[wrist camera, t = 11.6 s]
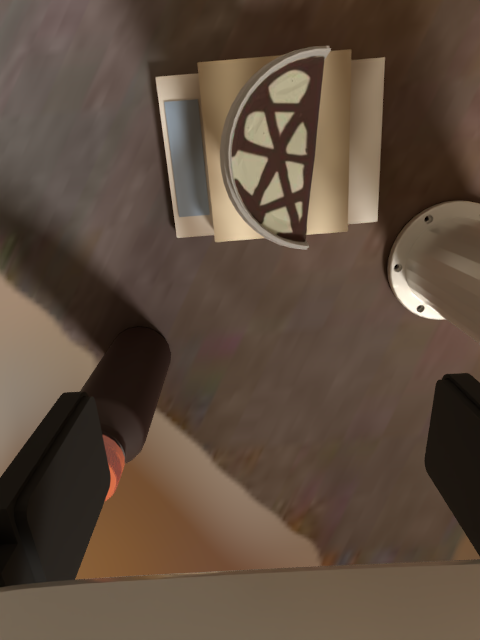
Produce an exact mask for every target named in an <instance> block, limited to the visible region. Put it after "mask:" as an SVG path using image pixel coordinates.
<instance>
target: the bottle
mask: <svg viewBox="0 0 480 640" xmlns="http://www.w3.org/2000/svg"><path fill="white" fill-rule="evenodd" d="M170 359H171V352H170V349H169V345H168V343H167V342H166V340H165V339H164V338H163V336H161V335H160V334H159V333H157V332H156V331H154V330H151V329H149V328H144V327H134V328H129V329H127V330H125V331H123V332H122V333H120V334H119V335H118V336H117V337H116V339H115V340H114V341H113V343H112V344H111V346H110V347H109V349H108V350H107V352H106V353H105V355H104V356H103V358H102V359H101V361H100V362H99V364H98V365H97V367H96V368H95V370H94V371H93V373H92V374H91V376H90V377H89V379H88V380H87V382H86V383H85V385H84V386H83V388H82V389H81V391H80V392H86V393H87V394H88V396H89V397H94V399H95V402H96V406H97V411H98V416H99V421H100V426H101V431H102V436H103V440H104V445H105V450H106V455H107V460H108V465H109V470H110V475H111V482H110V488H109V491H108V493H107V496H106V499H105V501H106V500H108V498H110V497H111V496H112V495H113V493H114V492H115V491H116V488H117V486H118V483H119V480H120V477H121V474H122V471H123V468H124V465H125V463H127V462H129V461H131V460H133V459H134V458H135V457H136V455H138V454H139V453H140V451H141V450H142V448H143V445H144V443H145V441H146V437H147V434H148V431H149V428H150V425H151V422H152V418H153V415H154V412H155V409H156V406H157V402H158V399H159V396H160V393H161V390H162V386H163V383H164V380H165V377H166V374H167V371H168V367H169V364H170Z"/></svg>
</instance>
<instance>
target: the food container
mask: <svg viewBox="0 0 480 640" xmlns="http://www.w3.org/2000/svg"><path fill="white" fill-rule="evenodd" d="M330 51H331V48H329V46H314V47H308V48H304V49H299V50H294V51H292V52H289V53H287V54H284V55H282V56H279V57H277V58H276V59H274V60H273V61H271V62H269V63H268V64H266V65H264V66H263V67H262V68H261V69H260V70H259V71H258V72H256V73H255V74H254V75H253V76H252V77H251V78H250V79H249V80H248V82H247V83H246V84H245V85H244V86H243V88H242V89H241V90H240V92H239V93H238V95H237V97H236V98H235V100H234V102H233V103H232V105H231V107H230V110H229V112H228V115H227V117H226V120H225V123H224V127H223V131H222V135H221V145H220V167H221V173H222V178H223V183H224V185H225V188H226V191H227V194H228V197H229V199H230V200H231V202H232V204H233V206H234V208H235V210H236V211H237V212H238V214H239V215H240V216H241V217H242V219H243V220H244V221H245V222H246V223H247V224H248V225H249V226H250V227H251V228H252V229H253V230H254V231H256V232H257V233H259V234H260V235H261V236H263V237H264V238H266V239H268V240H270V241H272V242H274V243H277V244H279V245H283V246H286V247H290V248H296V249H306V250H307V247H308V248H309V245H308V243H307V242H306V240H305V239H306V233H307V217H308V209H309V200H310V191H311V183H312V175H313V168H314V160H315V150H316V138H317V128H318V118H319V108H320V99H321V89H322V80H323V69H324V60H325V59H326V57H327V55H328V54H329V52H330Z"/></svg>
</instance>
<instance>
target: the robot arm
mask: <svg viewBox="0 0 480 640" xmlns="http://www.w3.org/2000/svg"><path fill="white" fill-rule="evenodd" d="M426 216H427V219H426V220H425V221H424V219H425V217H426ZM396 264H397V267H396V268H394V266H395V265H396ZM387 271H388V281H389V284H390V287H391V290H392V292H393V293H394V295H395V297H396V299H397V300H398V301H399V302H400V303H401V304H402V305H403V306H404V307H405V308H407V309H408V310H409V311H411V312H412V313H414V314H416V315H418V316H421V317H424V318H428V319H436V320H442V319H446V320H448V321H449V322H450V323H452V324H453V325H454V326H456V327H457V328H458V329H460V330H461V331H463V332H464V333H465V334H467V335H468V336H469V337H471V338H472V339H473V340H475V341H476V342H477V343H479V344H480V204H479V203H475V202H470V201H462V200H456V201H447V202H443V203H439V204H436V205H434V206H431V207H429V208H427V209H425V210H423V211H422V212H421V213H419V214H418V215H416V216H415V217H414V218H412V219H411V220H410V221H409V222H408V223H407V224H406V225H405V226H404V228H403V229H402V230H401V232H400V233H399V235H398V236H397V238H396V240H395V242H394V244H393V246H392V248H391V251H390V255H389V258H388V267H387ZM418 306H419V307H418ZM417 307H418V308H417ZM425 467H426V470H427V473H428V475H429V476H430V478H431V479H432V481H433V482H434V484H435V486H436V487H437V489H438V490H439V492H440V494H441V495H442V497H443V498H444V500H445V502H446V503H447V505H448V506H449V508H450V510H451V511H452V513H453V514H454V516H455V518H456V519H457V521H458V522H459V524H460V526H461V527H462V529H463V530H464V532H465V534H466V535H467V537H468V538H469V540H470V542H471V543H472V544H473V546H474V548H475V549H476V551H477V553H478V554H479V556H480V383H479V382H478V381H477V380H476V379H475V378H474V377H473V376H471V375H470V374H468V373H461V374H446V375H444V376H443V378H442V380H438V381H437V383H436V387H435V394H434V400H433V407H432V414H431V420H430V427H429V433H428V440H427V447H426V453H425ZM110 482H111V475H110V470H109V465H108V460H107V455H106V450H105V445H104V440H103V436H102V431H101V426H100V421H99V416H98V411H97V406H96V402H95V399H94V397H89V396H88V394H87V393H86V392H67V393H63V394H62V395H61V396H60V398H59V399H58V400H57V401H56V403H55V404H54V406H53V407H52V408H51V410H50V411H49V412H48V414H47V415H46V416H45V418H44V419H43V420H42V422H41V423H40V425H39V426H38V427H37V429H36V430H35V431H34V433H33V434H32V435H31V437H30V438H29V439H28V441H27V442H26V444H25V445H24V446H23V448H22V449H21V450H20V452H19V453H18V455H17V456H16V457H15V458H14V460H13V461H12V463H11V464H10V465H9V467H8V468H7V469H6V471H5V472H4V473H3V475H2V476H1V478H0V640H480V560H455V561H431V562H407V563H384V564H361V565H339V566H318V567H298V568H277V569H258V570H237V571H217V572H199V573H180V574H164V575H163V574H162V575H143V576H126V577H110V578H95V579H79V580H75V578H76V575H77V573H78V570H79V567H80V565H81V562H82V559H83V557H84V554H85V552H86V549H87V546H88V544H89V541H90V538H91V536H92V533H93V530H94V527H95V525H96V522H97V520H98V517H99V514H100V512H101V509H102V506H103V504H104V501H105V499H106V496H107V493H108V491H109V488H110Z"/></svg>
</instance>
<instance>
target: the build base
mask: <svg viewBox="0 0 480 640" xmlns="http://www.w3.org/2000/svg"><path fill="white" fill-rule="evenodd" d="M279 56H282V55H278V56H267V57H255V58H244V59H232V60H221V61H209V62H197V65H198V73H196V74H185V75H173V76H161V77H155V78H156V85H157V93H158V100H159V108H160V115H161V122H162V130H163V137H164V145H165V152H166V160H167V167H168V175H169V182H170V190H171V197H172V205H173V212H174V220H175V227H176V234H177V238H182V237H194V236H206V235H215V242H222V241H234V240H247V239H259V238H264V237H263V236H261V235H260V234H259V233H257V232H256V231H254V230H253V229H252V228H251V227H250V226H249V225H248V224H247V223H246V222H245V221H244V220H243V219H242V217H241V216H240V215H239V214H238V212H237V211H236V210H235V208H234V206H233V204H232V202H231V200H230V199H229V197H228V194H227V191H226V188H225V185H224V183H223V178H222V173H221V167H220V145H221V135H222V131H223V127H224V123H225V120H226V117H227V115H228V112H229V110H230V107H231V105H232V103H233V102H234V100H235V98H236V97H237V95H238V93H239V92H240V90H241V89H242V88H243V86H244V85H245V84H246V83H247V82H248V80H249V79H250V78H251V77H252V76H253V75H254V74H255V73H256V72H258V71H259V70H260V69H261V68H262V67H263V66H264V65H266V64H268V63H269V62H271V61H273V60H274V59H276V58H277V57H279ZM384 69H385V57H382V58H370V59H359V60H351V49H348V50H336V51H330V52H329V54H328V55H327V57H326V59H325V60H324V69H323V80H322V89H321V99H320V108H319V118H318V128H317V138H316V150H315V160H314V168H313V175H312V183H311V191H310V200H309V209H308V217H307V233H306V235H309V234H321V233H334V232H346V231H348V224H355V223H367V222H377V220H378V198H379V177H380V155H381V134H382V112H383V91H384Z"/></svg>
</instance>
